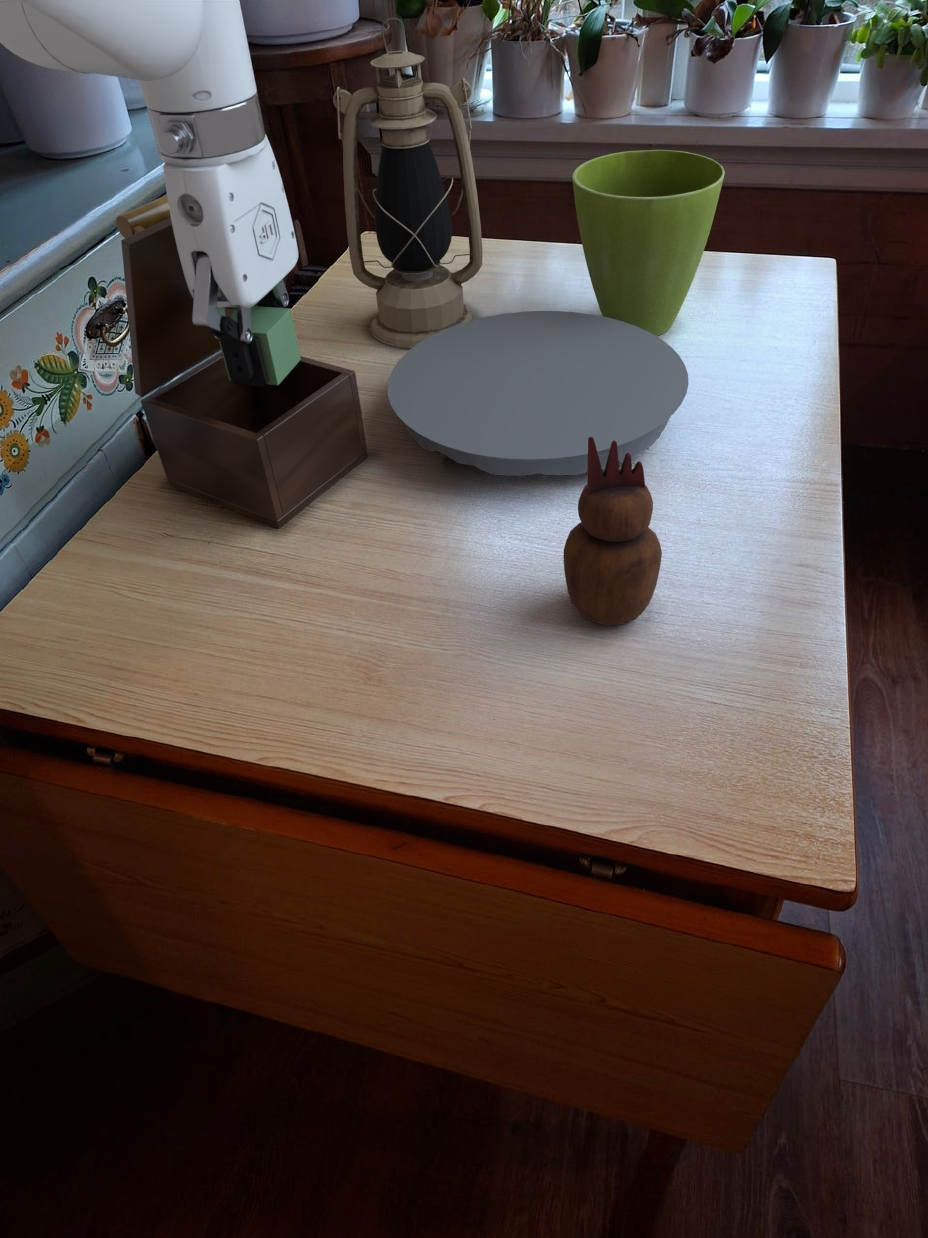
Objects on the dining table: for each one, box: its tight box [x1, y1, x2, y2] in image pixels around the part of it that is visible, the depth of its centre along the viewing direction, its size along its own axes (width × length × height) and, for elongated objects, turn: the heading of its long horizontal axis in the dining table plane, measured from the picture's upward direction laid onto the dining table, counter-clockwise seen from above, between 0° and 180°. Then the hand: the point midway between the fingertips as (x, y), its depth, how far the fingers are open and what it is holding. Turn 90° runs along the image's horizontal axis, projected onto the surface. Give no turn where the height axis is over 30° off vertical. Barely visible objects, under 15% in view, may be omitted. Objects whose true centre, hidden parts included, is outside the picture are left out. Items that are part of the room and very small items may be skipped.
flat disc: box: [386, 310, 689, 477], centre depth 87 cm, size 28×28×4 cm
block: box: [219, 305, 301, 385], centre depth 74 cm, size 4×4×4 cm
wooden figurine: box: [563, 437, 663, 626], centre depth 62 cm, size 7×6×15 cm
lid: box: [115, 194, 237, 398], centre depth 76 cm, size 14×13×5 cm
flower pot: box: [571, 149, 726, 337], centre depth 96 cm, size 15×15×16 cm
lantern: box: [332, 17, 484, 350], centre depth 94 cm, size 14×12×30 cm
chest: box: [140, 351, 369, 529], centre depth 81 cm, size 14×13×9 cm
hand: (264, 365), depth 75 cm, fingers closed on block, 4 cm apart
